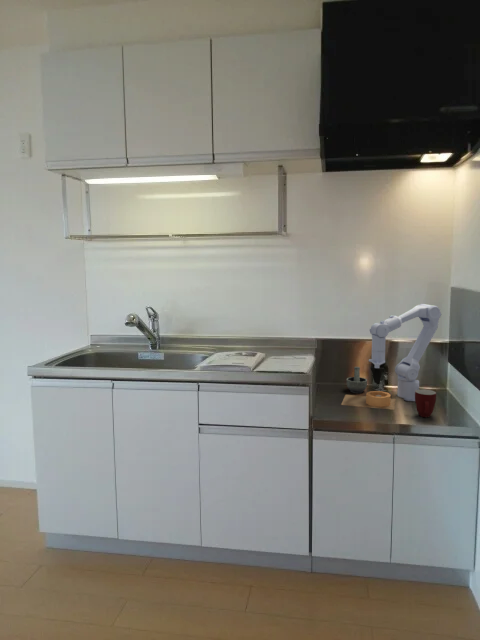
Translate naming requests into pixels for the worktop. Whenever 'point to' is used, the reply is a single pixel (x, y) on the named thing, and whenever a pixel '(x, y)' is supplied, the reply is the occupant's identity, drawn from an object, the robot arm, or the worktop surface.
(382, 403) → the orange notched ring
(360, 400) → the shelf plate
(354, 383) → the mortar and pestle
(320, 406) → the worktop surface
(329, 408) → the worktop surface
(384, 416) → the worktop surface
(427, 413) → the mug
